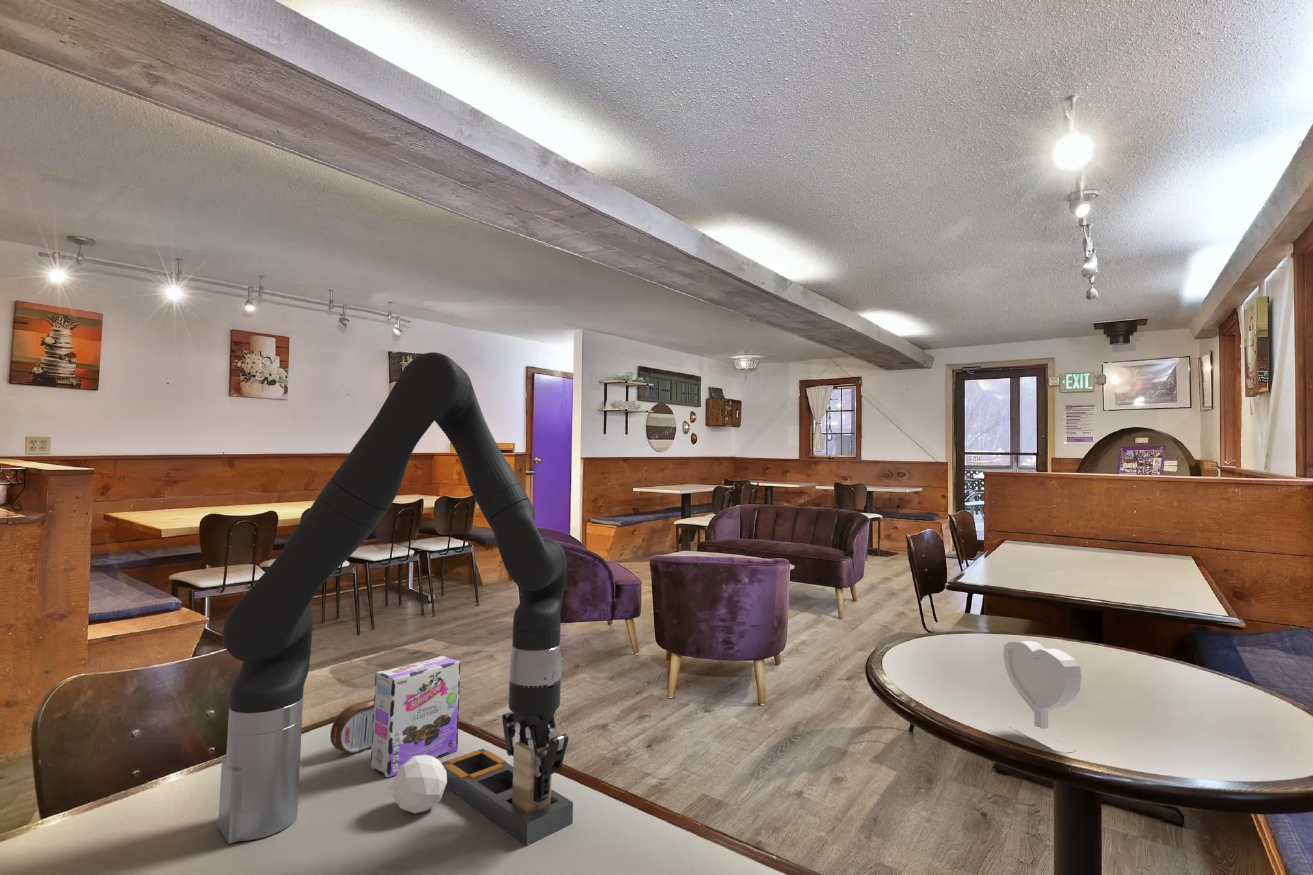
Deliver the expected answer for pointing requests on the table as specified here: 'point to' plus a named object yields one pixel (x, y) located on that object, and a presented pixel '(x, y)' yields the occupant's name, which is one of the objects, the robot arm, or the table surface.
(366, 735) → the tin
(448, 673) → the candy box
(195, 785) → the table surface
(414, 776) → the geometric ball
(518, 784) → the birch peg
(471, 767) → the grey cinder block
